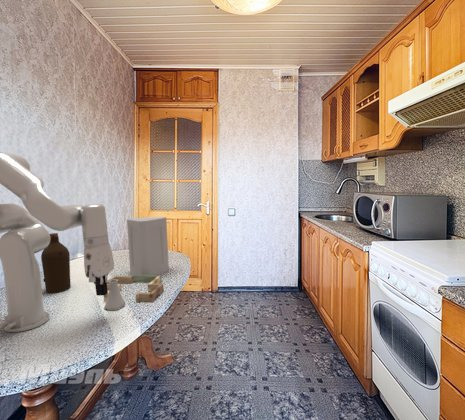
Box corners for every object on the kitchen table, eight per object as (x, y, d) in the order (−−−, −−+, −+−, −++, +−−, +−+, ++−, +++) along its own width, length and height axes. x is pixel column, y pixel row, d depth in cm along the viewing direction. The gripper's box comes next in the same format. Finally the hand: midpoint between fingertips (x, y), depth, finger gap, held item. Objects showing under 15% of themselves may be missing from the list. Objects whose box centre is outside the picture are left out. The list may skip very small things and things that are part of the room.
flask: (118, 311, 103) (116, 284, 102) (100, 310, 105) (98, 283, 104) (129, 303, 110) (127, 277, 109) (112, 302, 112) (110, 277, 111)
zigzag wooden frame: (151, 302, 110) (151, 294, 110) (87, 300, 114) (86, 293, 113) (172, 281, 133) (172, 275, 133) (117, 280, 137) (117, 274, 136)
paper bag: (125, 280, 137) (121, 222, 135) (132, 271, 152) (128, 218, 150) (166, 277, 140) (163, 220, 137) (169, 268, 154) (166, 216, 152)
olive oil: (77, 285, 132) (73, 231, 130) (61, 294, 122) (56, 235, 120) (55, 285, 133) (50, 231, 131) (38, 293, 123) (32, 235, 121)
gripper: (93, 246, 88) (99, 303, 90) (118, 236, 103) (123, 286, 105) (70, 246, 89) (77, 303, 91) (99, 237, 104) (104, 286, 106)
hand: (102, 294), depth 98 cm, fingers closed
